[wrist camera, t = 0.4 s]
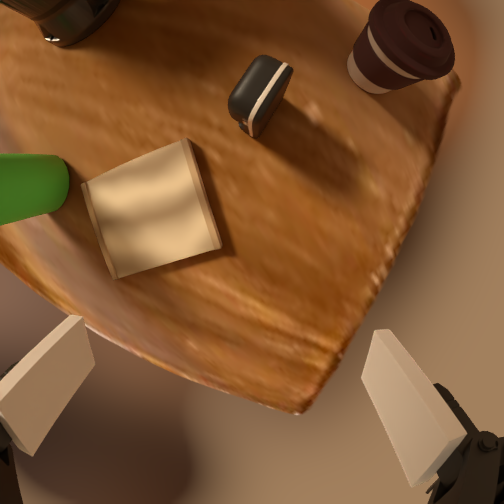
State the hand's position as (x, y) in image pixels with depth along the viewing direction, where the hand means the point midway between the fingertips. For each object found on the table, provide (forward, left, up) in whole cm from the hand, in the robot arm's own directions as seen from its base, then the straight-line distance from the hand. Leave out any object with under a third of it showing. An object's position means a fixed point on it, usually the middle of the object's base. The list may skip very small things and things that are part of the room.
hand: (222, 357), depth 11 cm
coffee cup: (-17, +23, -25) cm, 39 cm away
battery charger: (-15, +6, -25) cm, 30 cm away
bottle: (-17, -25, -25) cm, 40 cm away
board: (-7, -11, -25) cm, 28 cm away
